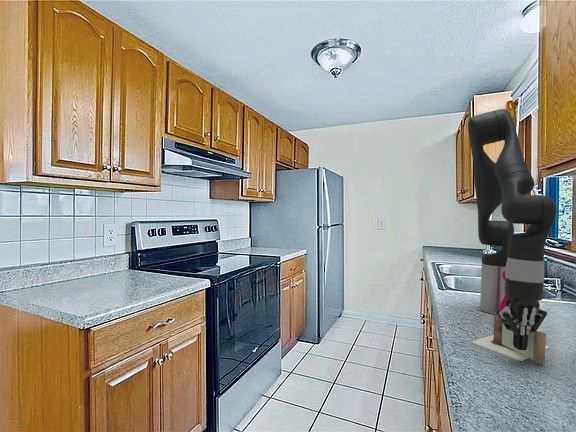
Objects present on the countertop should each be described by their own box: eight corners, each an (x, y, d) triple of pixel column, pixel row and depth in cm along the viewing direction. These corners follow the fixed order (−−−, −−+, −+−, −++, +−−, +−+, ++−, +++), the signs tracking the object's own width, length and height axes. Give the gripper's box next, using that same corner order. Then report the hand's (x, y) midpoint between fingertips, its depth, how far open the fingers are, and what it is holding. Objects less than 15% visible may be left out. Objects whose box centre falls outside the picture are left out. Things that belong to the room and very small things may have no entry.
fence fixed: (515, 334, 96) (516, 308, 96) (524, 337, 94) (526, 310, 94) (491, 343, 89) (492, 315, 88) (500, 346, 86) (502, 317, 86)
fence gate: (500, 344, 86) (501, 318, 86) (506, 343, 87) (507, 318, 87) (540, 363, 76) (541, 334, 75) (547, 362, 76) (548, 334, 76)
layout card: (501, 332, 97) (501, 331, 97) (549, 348, 87) (549, 346, 87) (471, 343, 88) (471, 341, 88) (521, 361, 78) (521, 359, 78)
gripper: (531, 274, 83) (527, 341, 83) (488, 274, 80) (484, 343, 80) (561, 281, 75) (557, 354, 76) (515, 281, 73) (511, 357, 73)
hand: (519, 348), depth 78 cm, fingers closed
